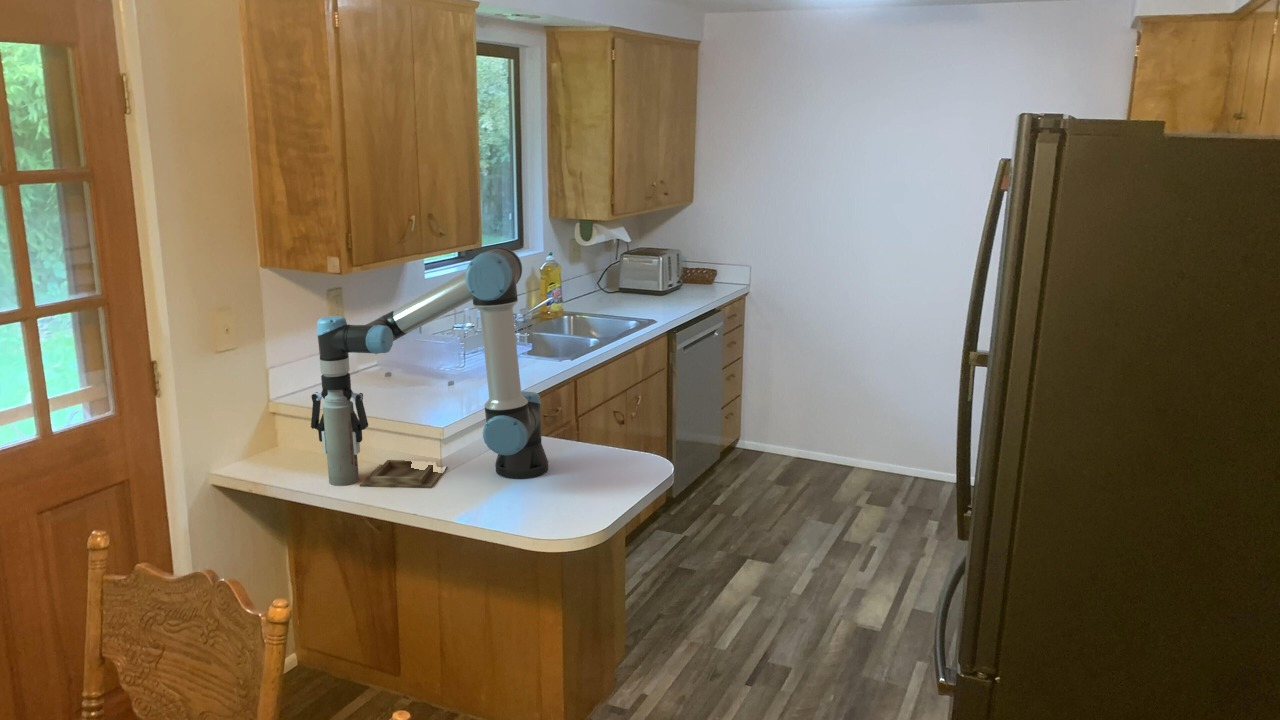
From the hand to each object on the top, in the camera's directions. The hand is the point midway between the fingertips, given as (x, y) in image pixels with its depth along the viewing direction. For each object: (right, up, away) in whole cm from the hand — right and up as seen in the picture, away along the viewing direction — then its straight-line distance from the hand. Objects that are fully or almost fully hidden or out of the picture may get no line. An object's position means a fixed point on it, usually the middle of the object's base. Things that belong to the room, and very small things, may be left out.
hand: (341, 452), depth 256 cm
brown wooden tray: (+16, -7, +5) cm, 18 cm away
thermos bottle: (0, -8, +2) cm, 8 cm away
